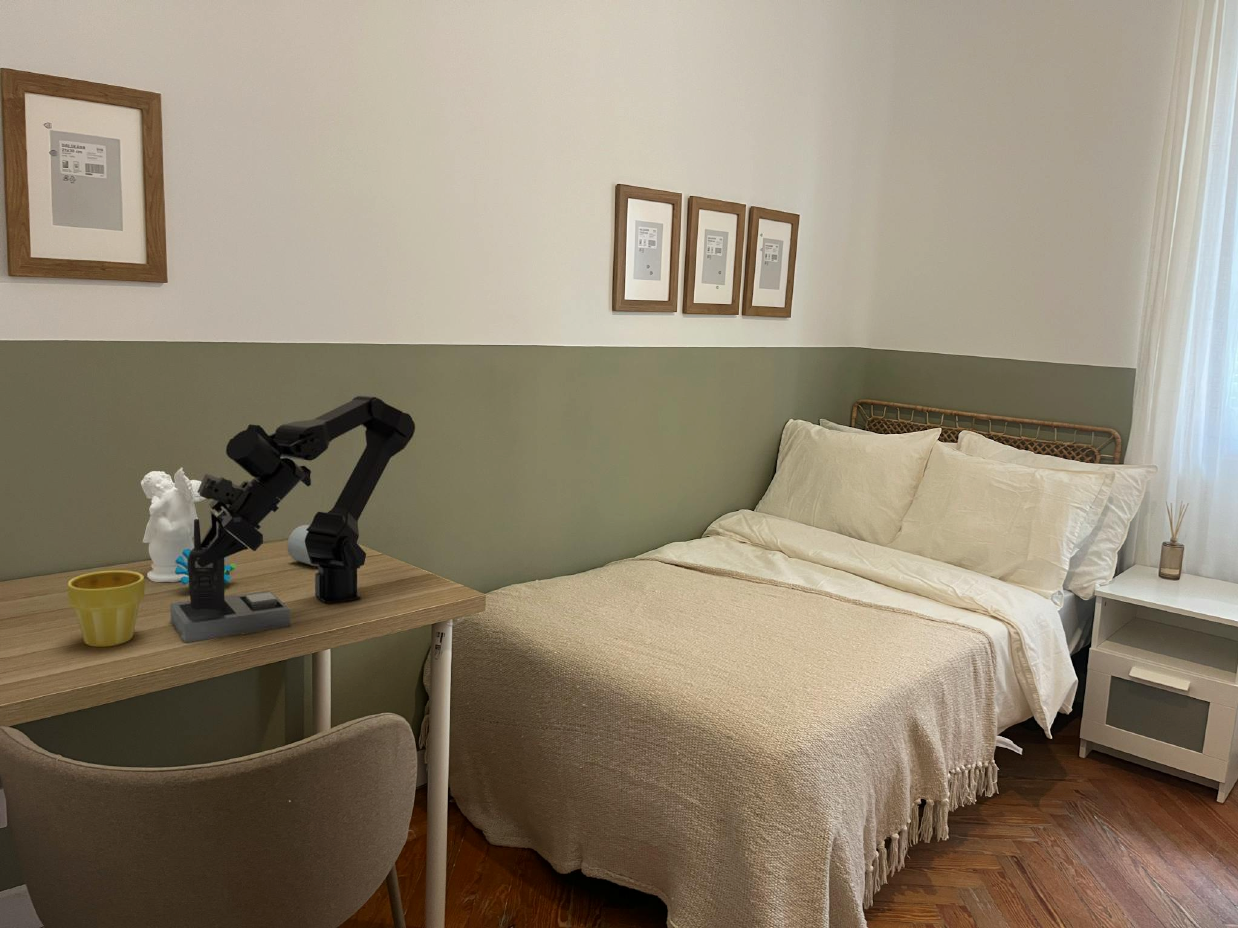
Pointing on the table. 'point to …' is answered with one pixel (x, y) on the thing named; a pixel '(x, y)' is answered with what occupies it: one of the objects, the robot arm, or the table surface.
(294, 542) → the ceramic mug
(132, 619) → the plant pot
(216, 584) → the two-way radio
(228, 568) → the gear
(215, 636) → the grey charging dock
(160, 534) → the cherub figurine
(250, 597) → the steel block
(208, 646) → the table surface
